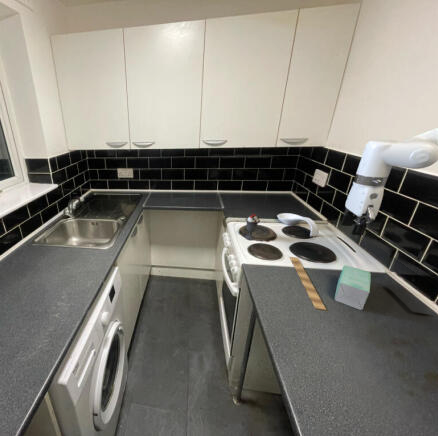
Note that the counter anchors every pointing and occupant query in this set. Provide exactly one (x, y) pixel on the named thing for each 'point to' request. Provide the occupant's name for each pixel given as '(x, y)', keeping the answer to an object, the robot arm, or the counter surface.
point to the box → (353, 287)
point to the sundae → (251, 225)
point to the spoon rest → (294, 219)
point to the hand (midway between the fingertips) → (351, 229)
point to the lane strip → (307, 284)
